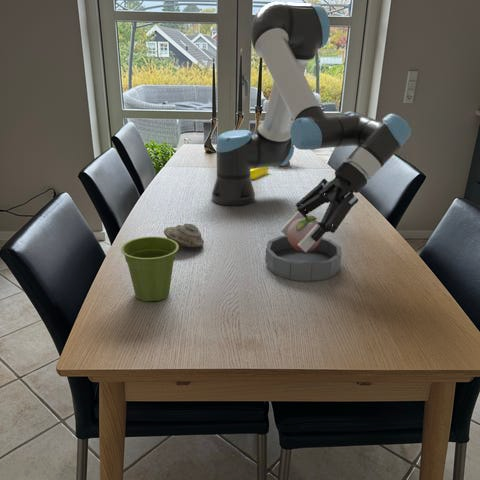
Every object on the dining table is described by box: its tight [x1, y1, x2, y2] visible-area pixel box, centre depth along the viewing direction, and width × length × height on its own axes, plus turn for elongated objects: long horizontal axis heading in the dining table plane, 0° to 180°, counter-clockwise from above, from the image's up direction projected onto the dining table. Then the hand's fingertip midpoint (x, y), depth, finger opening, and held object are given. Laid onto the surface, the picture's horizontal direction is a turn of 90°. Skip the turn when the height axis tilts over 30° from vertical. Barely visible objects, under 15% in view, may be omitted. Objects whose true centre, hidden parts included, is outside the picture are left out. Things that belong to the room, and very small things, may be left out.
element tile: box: [250, 167, 269, 181], centre depth 197 cm, size 15×15×5 cm
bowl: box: [264, 234, 342, 283], centre depth 115 cm, size 18×18×4 cm
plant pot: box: [120, 236, 180, 302], centre depth 99 cm, size 12×12×11 cm
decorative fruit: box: [287, 214, 323, 254], centre depth 113 cm, size 9×8×10 cm
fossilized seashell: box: [163, 223, 205, 248], centre depth 125 cm, size 11×11×7 cm
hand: (292, 240), depth 112 cm, fingers closed on decorative fruit, 9 cm apart
